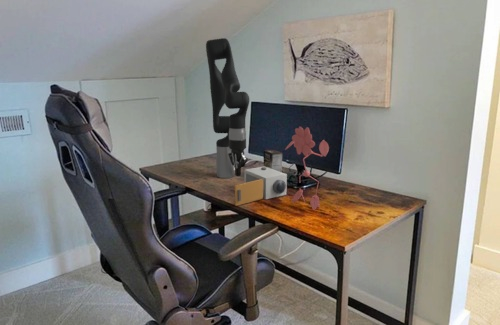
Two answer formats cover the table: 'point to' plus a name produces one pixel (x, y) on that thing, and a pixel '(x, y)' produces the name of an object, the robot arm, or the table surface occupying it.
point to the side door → (249, 192)
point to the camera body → (268, 180)
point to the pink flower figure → (304, 145)
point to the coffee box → (273, 159)
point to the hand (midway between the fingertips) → (238, 175)
